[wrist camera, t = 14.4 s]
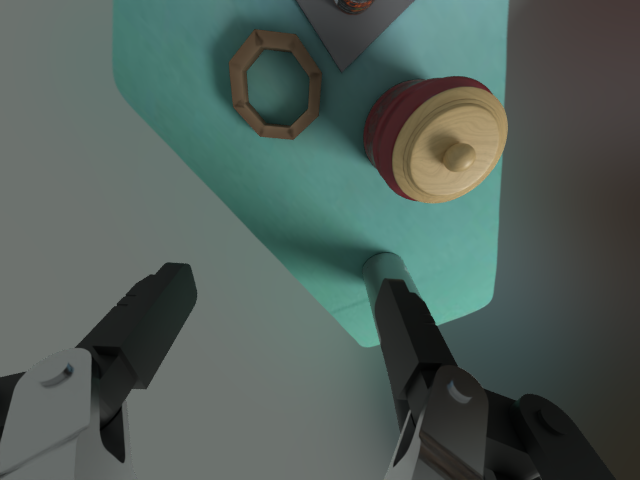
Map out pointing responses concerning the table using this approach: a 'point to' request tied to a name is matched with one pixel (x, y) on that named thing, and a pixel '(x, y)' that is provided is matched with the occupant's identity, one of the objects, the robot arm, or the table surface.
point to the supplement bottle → (353, 6)
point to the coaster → (350, 26)
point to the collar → (239, 87)
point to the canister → (435, 137)
